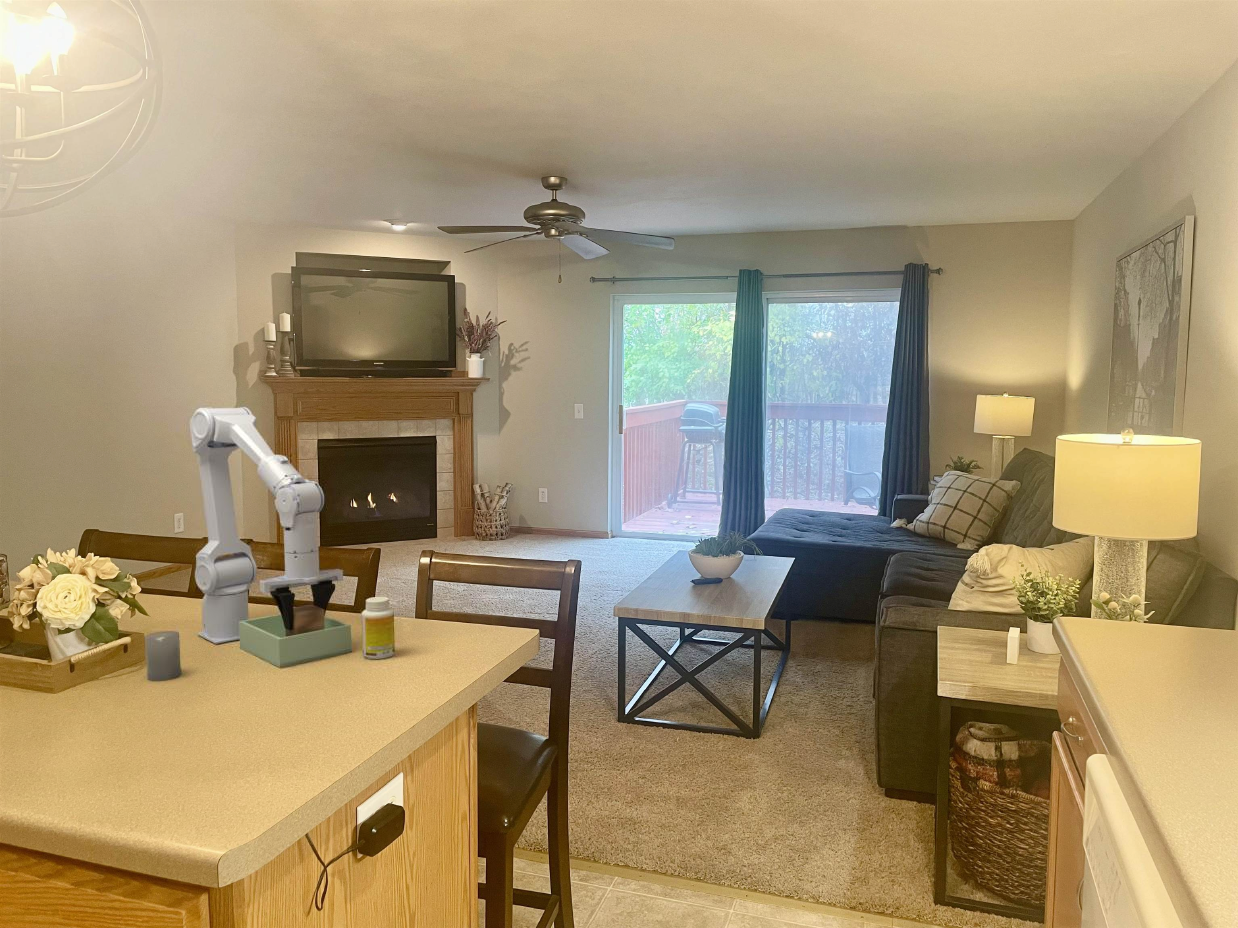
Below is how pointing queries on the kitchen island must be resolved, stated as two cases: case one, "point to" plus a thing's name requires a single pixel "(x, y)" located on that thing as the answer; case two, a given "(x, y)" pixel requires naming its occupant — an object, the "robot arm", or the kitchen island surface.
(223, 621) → the robot arm
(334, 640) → the tote
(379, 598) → the supplement bottle
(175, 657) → the cylinder
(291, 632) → the cube
